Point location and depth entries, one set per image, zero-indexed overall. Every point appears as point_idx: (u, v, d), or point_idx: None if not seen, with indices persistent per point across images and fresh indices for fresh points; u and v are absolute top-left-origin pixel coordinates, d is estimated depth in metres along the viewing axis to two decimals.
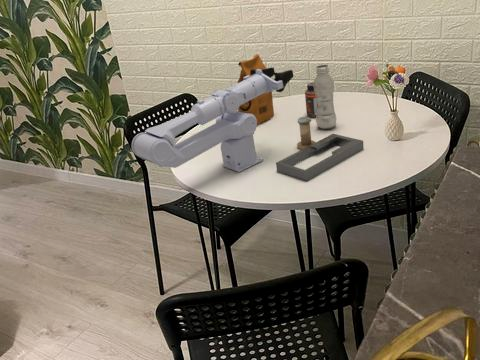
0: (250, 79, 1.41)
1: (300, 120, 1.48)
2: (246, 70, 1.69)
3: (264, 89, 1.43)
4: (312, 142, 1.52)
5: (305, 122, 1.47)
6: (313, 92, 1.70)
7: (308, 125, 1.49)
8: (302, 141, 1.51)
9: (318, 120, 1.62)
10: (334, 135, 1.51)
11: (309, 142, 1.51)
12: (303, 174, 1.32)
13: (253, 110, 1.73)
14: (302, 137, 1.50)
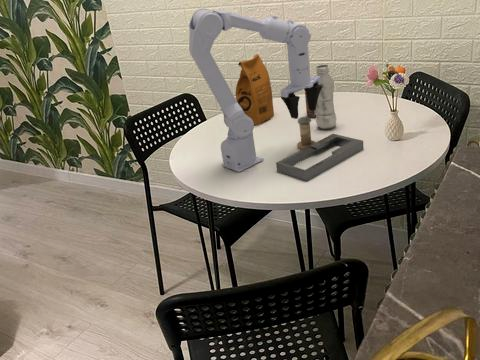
0: (305, 71, 1.40)
1: (300, 120, 1.48)
2: (246, 70, 1.69)
3: (291, 81, 1.43)
4: (312, 142, 1.52)
5: (305, 122, 1.47)
6: None
7: (308, 125, 1.49)
8: (302, 141, 1.51)
9: (318, 120, 1.62)
10: (334, 135, 1.51)
11: (309, 142, 1.51)
12: (303, 174, 1.32)
13: (253, 110, 1.73)
14: (302, 137, 1.50)
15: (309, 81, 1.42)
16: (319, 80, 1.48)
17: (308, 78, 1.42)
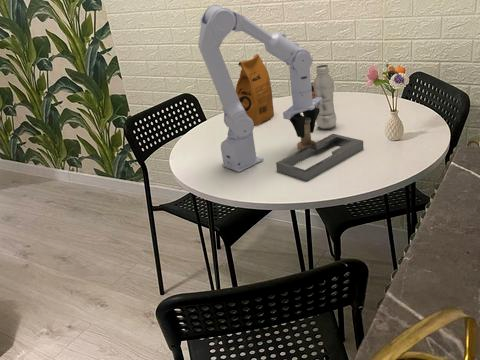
0: (307, 94, 1.43)
1: None
2: (246, 70, 1.69)
3: (293, 103, 1.46)
4: (312, 142, 1.52)
5: (305, 122, 1.47)
6: (313, 92, 1.70)
7: (308, 125, 1.49)
8: (302, 141, 1.51)
9: (318, 120, 1.62)
10: (334, 135, 1.51)
11: (309, 142, 1.51)
12: (303, 174, 1.32)
13: (253, 110, 1.73)
14: None
15: (311, 103, 1.45)
16: (321, 101, 1.50)
17: (310, 100, 1.44)
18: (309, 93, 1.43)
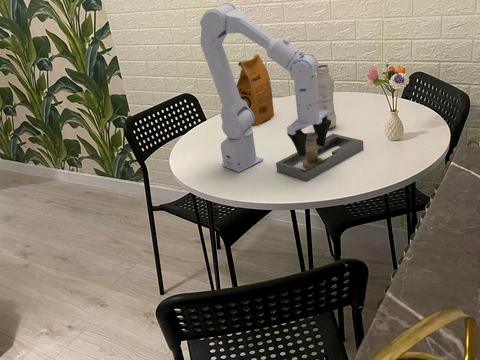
0: (313, 107, 1.30)
1: None
2: (246, 70, 1.69)
3: (298, 117, 1.33)
4: (319, 160, 1.41)
5: (311, 138, 1.36)
6: None
7: (314, 141, 1.37)
8: (308, 158, 1.40)
9: None
10: (334, 135, 1.51)
11: (315, 160, 1.39)
12: (303, 174, 1.32)
13: (253, 110, 1.73)
14: (308, 154, 1.39)
15: (318, 117, 1.32)
16: (328, 114, 1.38)
17: (317, 114, 1.32)
18: (316, 106, 1.31)
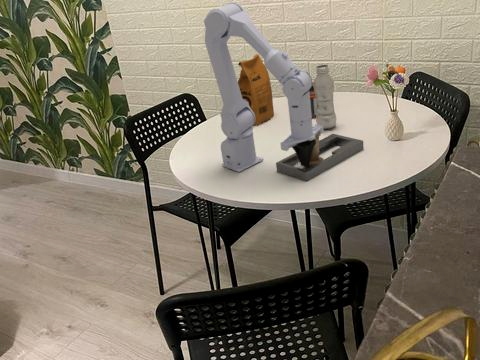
0: (306, 123, 1.31)
1: None
2: (246, 70, 1.69)
3: (292, 132, 1.34)
4: (320, 158, 1.41)
5: None
6: (313, 92, 1.70)
7: (317, 139, 1.37)
8: None
9: (318, 120, 1.62)
10: (334, 135, 1.51)
11: (316, 158, 1.39)
12: (303, 174, 1.32)
13: (253, 110, 1.73)
14: None
15: (311, 133, 1.33)
16: (322, 130, 1.38)
17: (310, 130, 1.32)
18: (309, 122, 1.31)
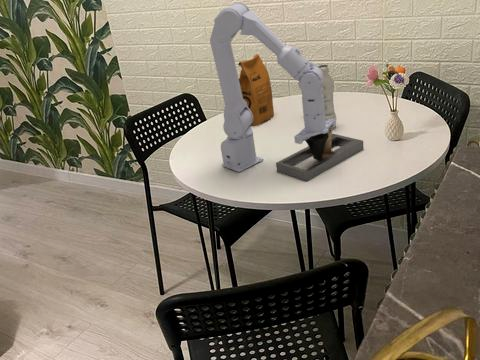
0: (320, 117, 1.34)
1: None
2: (246, 70, 1.69)
3: (305, 126, 1.37)
4: None
5: None
6: None
7: (330, 132, 1.40)
8: None
9: None
10: (334, 135, 1.51)
11: (329, 151, 1.42)
12: (303, 174, 1.32)
13: (253, 110, 1.73)
14: None
15: (324, 126, 1.36)
16: (334, 124, 1.41)
17: (323, 123, 1.35)
18: (322, 116, 1.34)
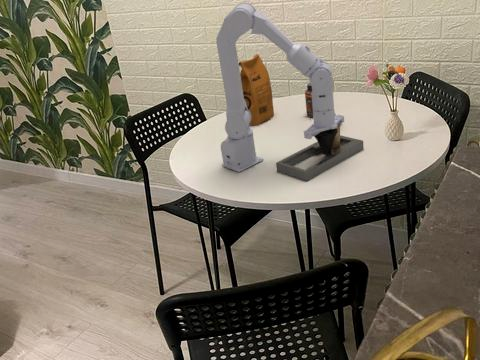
0: (329, 112, 1.36)
1: None
2: (246, 70, 1.69)
3: (314, 122, 1.39)
4: None
5: None
6: None
7: (339, 128, 1.42)
8: None
9: None
10: None
11: (337, 146, 1.44)
12: (303, 174, 1.32)
13: (253, 110, 1.73)
14: None
15: (333, 122, 1.38)
16: (343, 119, 1.43)
17: (332, 119, 1.37)
18: (331, 111, 1.36)
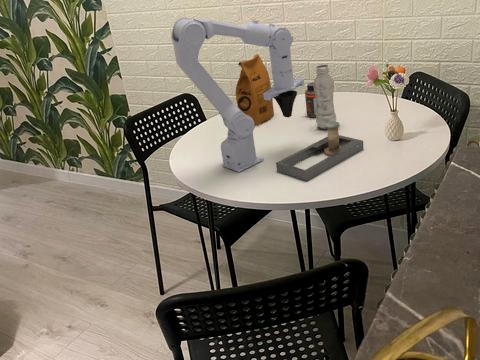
0: (287, 74, 1.40)
1: (328, 125, 1.42)
2: (246, 70, 1.69)
3: (274, 84, 1.43)
4: None
5: (333, 127, 1.41)
6: (313, 92, 1.70)
7: (336, 130, 1.42)
8: (330, 147, 1.44)
9: (318, 120, 1.62)
10: None
11: (337, 148, 1.44)
12: (303, 174, 1.32)
13: (253, 110, 1.73)
14: (330, 143, 1.44)
15: (292, 84, 1.42)
16: (303, 82, 1.48)
17: (291, 81, 1.42)
18: (290, 73, 1.41)
